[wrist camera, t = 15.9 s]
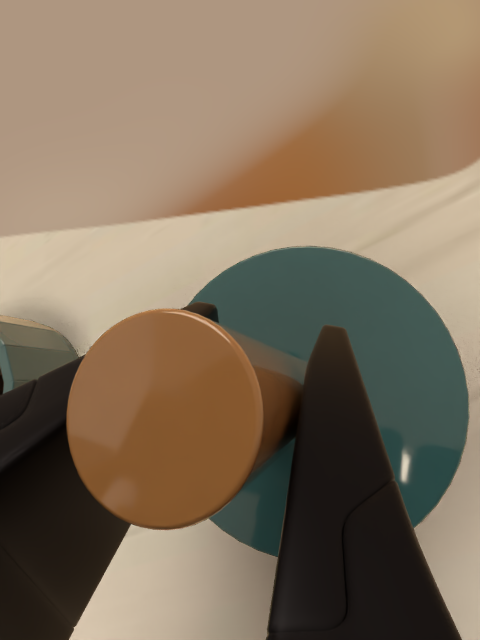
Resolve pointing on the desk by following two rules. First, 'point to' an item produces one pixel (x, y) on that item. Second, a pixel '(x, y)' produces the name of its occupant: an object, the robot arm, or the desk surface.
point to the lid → (261, 394)
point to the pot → (30, 351)
